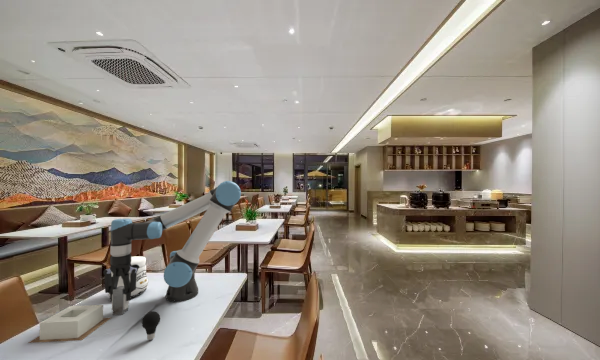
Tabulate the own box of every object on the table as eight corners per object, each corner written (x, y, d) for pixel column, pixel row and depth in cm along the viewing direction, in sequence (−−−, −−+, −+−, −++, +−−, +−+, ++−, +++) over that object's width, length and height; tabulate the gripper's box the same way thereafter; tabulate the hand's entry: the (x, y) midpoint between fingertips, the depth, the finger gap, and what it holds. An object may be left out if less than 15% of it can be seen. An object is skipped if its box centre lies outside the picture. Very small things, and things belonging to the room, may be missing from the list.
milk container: (148, 296, 130) (148, 261, 131) (106, 305, 121) (106, 267, 121) (147, 285, 145) (147, 254, 145) (109, 292, 135) (110, 258, 136)
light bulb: (146, 335, 95) (146, 308, 95) (163, 334, 95) (163, 307, 95) (138, 345, 89) (138, 316, 89) (155, 344, 89) (155, 315, 90)
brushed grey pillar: (128, 313, 112) (128, 285, 113) (122, 317, 109) (122, 289, 109) (118, 313, 112) (118, 286, 113) (112, 318, 108) (112, 289, 109)
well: (103, 319, 105) (103, 304, 105) (77, 338, 92) (77, 321, 92) (69, 321, 104) (70, 306, 104) (39, 339, 91) (39, 322, 91)
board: (111, 320, 106) (111, 317, 106) (81, 343, 90) (81, 340, 90) (66, 322, 105) (66, 319, 105) (27, 346, 89) (27, 342, 89)
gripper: (145, 251, 116) (145, 303, 115) (106, 252, 114) (106, 305, 114) (136, 255, 108) (135, 311, 107) (94, 257, 107) (93, 313, 106)
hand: (120, 308), depth 110 cm, fingers closed on brushed grey pillar, 4 cm apart
